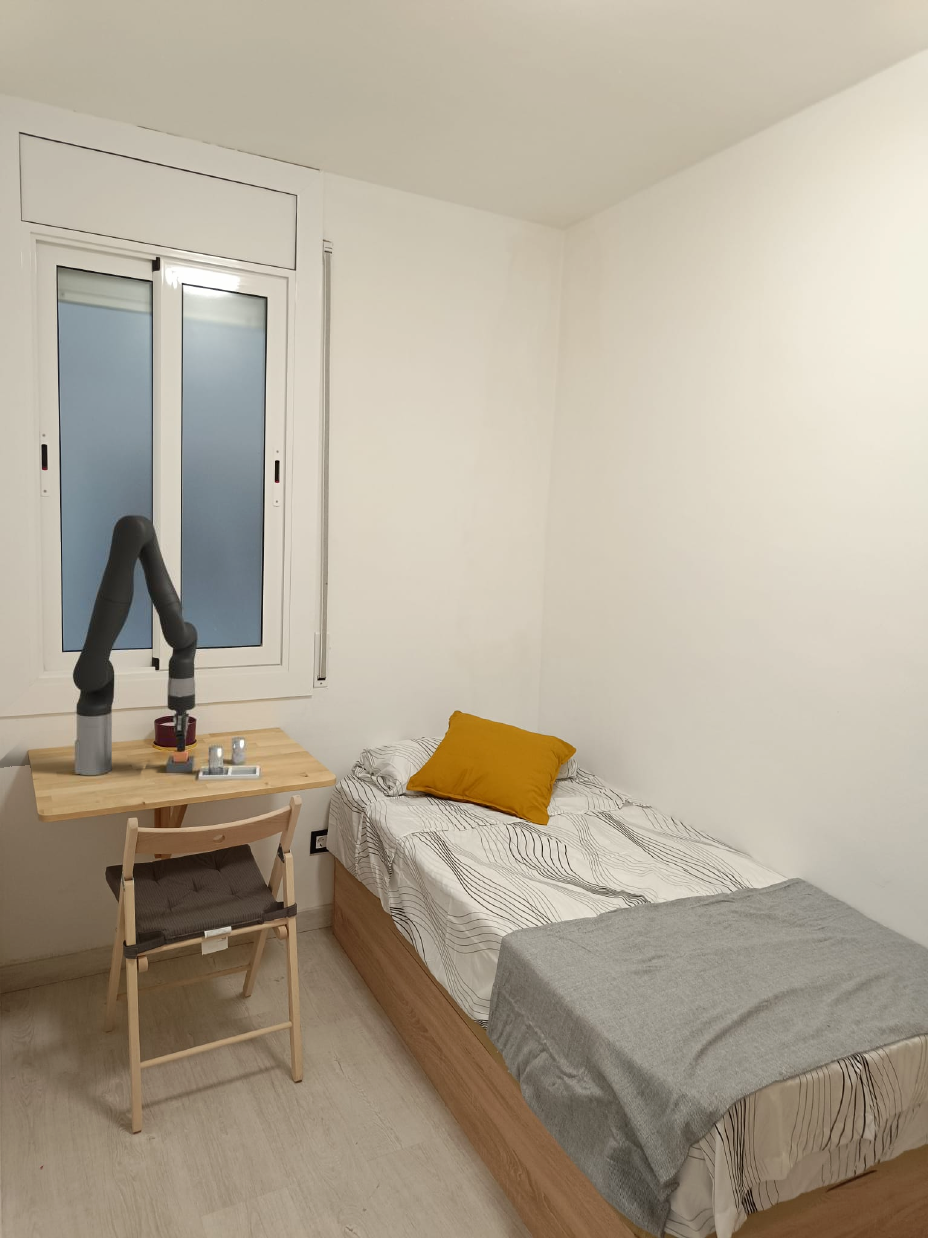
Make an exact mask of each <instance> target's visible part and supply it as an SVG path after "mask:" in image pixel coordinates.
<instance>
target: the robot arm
mask: <svg viewBox="0 0 928 1238" xmlns="http://www.w3.org/2000/svg"><path fill="white" fill-rule="evenodd" d="M112 531H113V532H112V537H111V543H110V548H109V554H108V560H107V563H106V566H105V568H104V572H103V574H102V578H101V582H100V585H99V588H98V590H97V593H96V598H95V600H94V604H93V609H92V612H91V615H90V616H91V617H90V620H89V623H88V629H87V633H86V638H85V641H84V644H83V646H82V650H81V651H80V654H79V656H78V658H77V662H76V664H75V665H74V669H73V672H72V679H73V683H74V685H75V687H76V688H77V689H78V690H80V693H79V696H78V697H79V698H78V701H77V703H76V740H75V741H74V774H76V775H83V776H100V775H104V774H107V773H110V772H111V771H112V770H113V766H112V765H113V762H112V760H113V759H112V758H113V755H112V754H113V753H112V752H113V745H112V743H113V739H112V738H113V736H112V735H113V733H112V732H113V731H112V730H113V729H112V728H113V727H112V726H113V725H112V724H113V720H112V719H113V718H112V717H113V715H112V714H113V713H112V712H113V711H112V709H113V702H114V698H115V697H114V696H115V670H114V669H115V668H114V665H113V663H112V662H111V660H110V657H111V653H112V649H113V647H114V644H115V643H116V641H117V638H118V636H119V635H120V633H121V631H122V630H123V628H124V626H125V624H126V622H127V619H128V617H129V613H130V610H131V607H132V603H133V599H134V589H135V584H134V583H135V579H134V577H135V567H136V564H137V561H138V560H139V561H140V565H141V566H142V570H143V574H144V579H145V583H146V588H147V592H148V595H149V598H150V599H151V602H152V604H153V606H154V609H155V611H156V613H157V615H158V618H159V623H160V628H161V631H162V635H163V638H164V640H165V642H166V643H167V645H168V646H169V647H171V648H172V653H171V656H170V658H169V660H168V678H167V679H168V680H167V708H168V710H169V711H170V710H171V711H175V713H174V715H173V718H172V719H173V723H174V726H173V728H174V729H173V730H174V734H175V735H174V736H175V737H174V738H175V739H176V750H177V751H185V750H186V743H187V742H186V739H187V734H188V728H189V720H190V713H188V711H191V710H193V709H195V707H196V681H195V679H196V678H195V658H196V652H197V647H198V646H197V645H198V632H197V629H196V627H195V625H194V624H192V623H191V622H188V621H185V620H184V617H183V614H182V612H183V609H184V608H183V604H182V602H181V600H180V597H179V594H178V593H177V591H176V590H177V589H176V588H175V586H174V584H173V581H172V580H171V579H172V578H171V576H170V574H169V572H168V570H167V567H166V564H165V561H164V558H163V555H162V551H161V549H160V545H159V541H158V536H157V533H156V529H155V527H154V524H153V522H152V521H151V520H150V519H149V518H148V517H146V516H143V515H139V514H138V515H137V514H129V515H124V516H122V517H121V518H119V519H118V520H117V521H116V523H115V525H114V527H113V530H112Z"/></svg>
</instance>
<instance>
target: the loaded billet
mask: <svg viewBox="0 0 928 1238" xmlns="http://www.w3.org/2000/svg"><path fill="white" fill-rule="evenodd" d="M223 766H224V746H222V745H210V746H209V747H208V766H207V767H208V775H223Z"/></svg>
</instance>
